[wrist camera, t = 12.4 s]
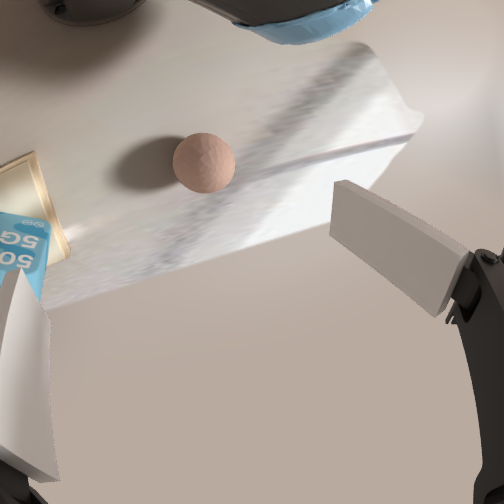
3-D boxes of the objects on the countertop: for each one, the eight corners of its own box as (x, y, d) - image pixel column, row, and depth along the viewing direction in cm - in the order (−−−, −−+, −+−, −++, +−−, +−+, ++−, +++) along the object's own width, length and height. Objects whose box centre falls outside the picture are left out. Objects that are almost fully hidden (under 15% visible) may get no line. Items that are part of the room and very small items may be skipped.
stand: (-38, 188, 22) (-47, 196, 20) (34, 150, 26) (29, 155, 24) (3, 277, 30) (-2, 290, 28) (70, 249, 34) (69, 260, 32)
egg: (185, 190, 38) (210, 218, 31) (155, 151, 34) (172, 170, 27) (226, 158, 39) (260, 178, 31) (199, 118, 34) (229, 127, 27)
